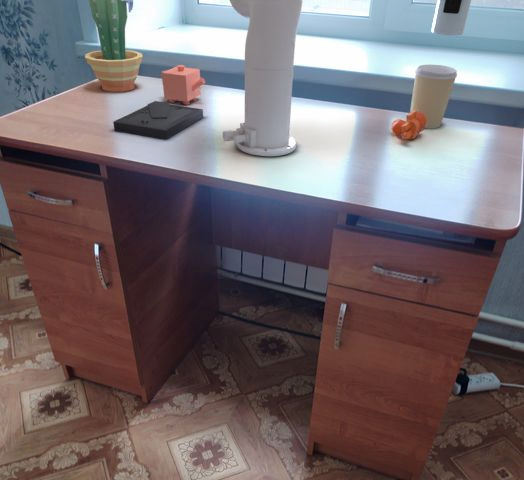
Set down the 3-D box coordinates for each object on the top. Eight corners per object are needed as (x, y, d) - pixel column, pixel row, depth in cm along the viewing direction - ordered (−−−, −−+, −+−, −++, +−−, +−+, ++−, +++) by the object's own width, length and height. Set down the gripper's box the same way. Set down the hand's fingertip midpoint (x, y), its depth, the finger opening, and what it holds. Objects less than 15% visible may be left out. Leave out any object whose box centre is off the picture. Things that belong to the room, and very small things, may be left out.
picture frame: (155, 110, 126) (114, 130, 113) (154, 100, 124) (112, 120, 112) (203, 117, 122) (166, 139, 110) (202, 107, 121) (165, 128, 108)
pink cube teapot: (199, 107, 128) (197, 71, 123) (157, 101, 131) (154, 66, 126) (212, 100, 134) (210, 65, 129) (171, 94, 137) (169, 60, 132)
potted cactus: (120, 98, 133) (103, -19, 117) (77, 88, 139) (56, -24, 122) (158, 86, 143) (147, -23, 127) (117, 78, 149) (102, -28, 133)
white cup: (445, 36, 107) (457, -16, 101) (424, 30, 111) (435, -20, 106) (469, 34, 109) (482, -17, 103) (447, 29, 114) (459, -20, 108)
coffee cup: (440, 118, 127) (453, 65, 120) (447, 130, 120) (461, 74, 112) (403, 116, 128) (414, 63, 120) (407, 128, 121) (419, 72, 113)
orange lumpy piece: (415, 118, 107) (430, 105, 115) (381, 124, 111) (398, 111, 119) (417, 142, 110) (431, 128, 118) (384, 147, 114) (400, 133, 122)
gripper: (457, -100, 103) (435, 4, 115) (455, -104, 91) (430, 14, 102) (496, -99, 102) (470, 7, 113) (498, -102, 89) (468, 17, 101)
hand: (451, 10), depth 108 cm, fingers closed on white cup, 6 cm apart
